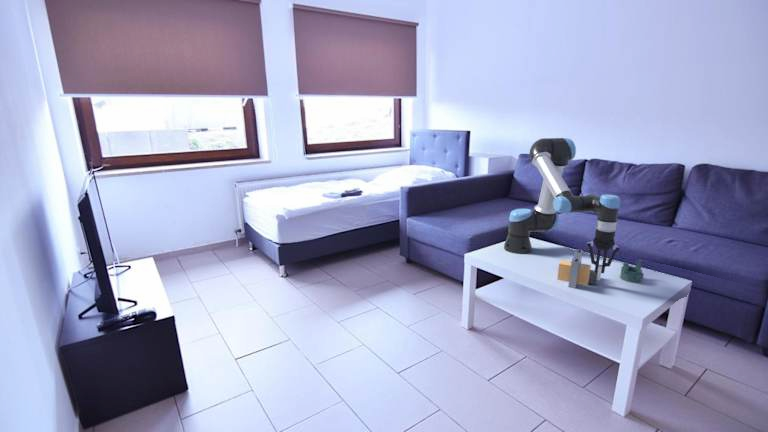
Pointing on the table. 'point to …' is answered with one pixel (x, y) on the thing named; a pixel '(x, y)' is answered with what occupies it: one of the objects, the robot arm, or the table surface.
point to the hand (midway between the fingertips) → (598, 279)
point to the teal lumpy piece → (632, 272)
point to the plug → (583, 275)
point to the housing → (575, 268)
